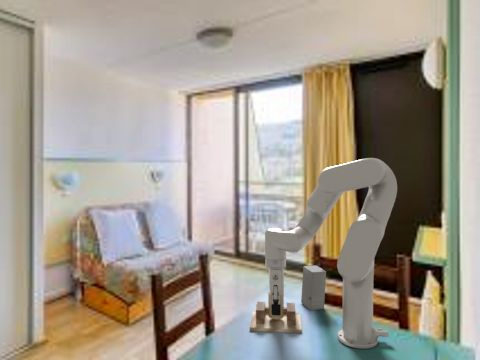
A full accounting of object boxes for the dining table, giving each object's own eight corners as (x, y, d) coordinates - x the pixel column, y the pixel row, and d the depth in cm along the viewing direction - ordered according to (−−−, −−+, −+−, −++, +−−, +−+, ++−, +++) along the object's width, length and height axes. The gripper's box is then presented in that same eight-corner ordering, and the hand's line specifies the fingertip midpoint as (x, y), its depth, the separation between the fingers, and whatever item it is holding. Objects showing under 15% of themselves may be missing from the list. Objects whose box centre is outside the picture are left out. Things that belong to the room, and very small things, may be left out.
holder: (299, 315, 138) (299, 299, 138) (301, 333, 124) (301, 315, 124) (252, 314, 140) (252, 298, 140) (249, 330, 126) (249, 313, 126)
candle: (283, 320, 129) (282, 292, 128) (267, 319, 130) (267, 291, 129) (284, 313, 134) (284, 287, 134) (269, 312, 135) (269, 286, 135)
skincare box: (300, 303, 150) (300, 265, 149) (316, 301, 152) (316, 264, 151) (310, 311, 142) (310, 271, 141) (326, 309, 144) (326, 269, 143)
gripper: (286, 269, 122) (286, 322, 123) (285, 256, 139) (286, 302, 140) (264, 269, 123) (264, 321, 124) (266, 256, 140) (267, 302, 141)
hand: (276, 310), depth 132 cm, fingers open, 5 cm apart
